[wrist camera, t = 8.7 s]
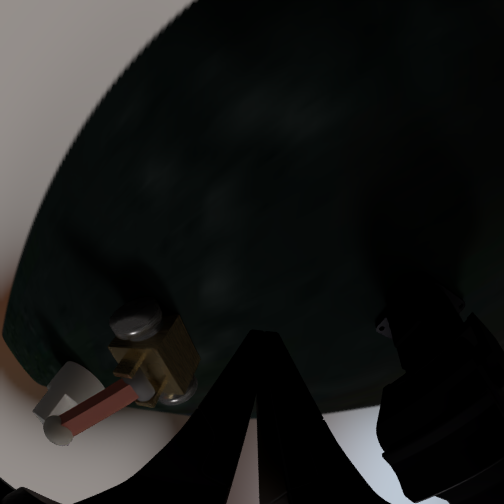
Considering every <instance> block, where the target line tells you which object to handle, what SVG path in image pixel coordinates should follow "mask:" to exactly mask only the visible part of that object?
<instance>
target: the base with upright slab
mask: <svg viewBox="0 0 504 504" xmlns="http://www.w3.org/2000/svg"><path fill="white" fill-rule="evenodd" d="M47 388H48V391H47V393H46V394H45V395H44V397H43V398H42V399H41V401H40V402H39V403H38V404H37V406H36V407H35V409H34V410H33V413H34V414H35V415H36V416H37V418H38V419H39V420H40V421H41V422H42V424H43V425H44V422H45V420H46V419H47V418H48V417H49V416H52V415H58V416H59V415H61V414H63V413H64V412H66V411H68V410H70V409H71V408H73V407H75V406H77V405H78V404H80V403H82V402H83V401H85V400H87V399H88V398H90V397H92V396H94V395H95V394H97V393H99V392H100V391H102V390H104V389H105V388H104V386H103V385H102V383H101V382H100V381H99V380H98V379H97V378H96V377H95V376H94V375H93V374H92V373H91V372H89V371H88V370H87V369H85V368H84V367H83V366H81V365H79V364H78V363H75V362H72V361H68V362H66V363H65V365H64V366H63V367H62V368H61V369H60V371H59V372H58V373H57V374H56V375H55V377H54V378H53V379H52V380H51V382H50V383H49V384H48V386H47ZM68 445H69V444H67V446H68Z"/></svg>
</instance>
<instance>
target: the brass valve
mask: <svg viewBox="0 0 504 504" xmlns="http://www.w3.org/2000/svg"><path fill="white" fill-rule="evenodd" d="M109 324H110V326H111V328H112V330H113V332H114V333H115V335H116V337H115V338H114V339H113V341H112V342H111V343H110V344H109V346H108V348H109V350H110V351H111V353H112V355H113V356H114V358H115V359H116V361H117V362H118V365H117V367H116V368H115V369H114V371H113V374H114V375H115V376H117V377H124V378H130V379H132V378H133V376H134V375H135V373H136V371H137V370H138V368H139V367H140V368H141V370H142V371H143V373H144V374H145V376H146V377H147V379H148V380H149V382H150V383H151V385H152V386H153V388H154V389H155V394H154V396H153V397H152V398H151V399H150V400H148V401H139V400H138V399H136V401H135V403H136V404H137V405H140V406H145V407H151V408H154V407H155V405H156V403H157V401H158V400H159V401H160V402H161V403H163V404H166V405H177V404H181V403H183V402H185V401H187V400H188V399H189V398H191V397H192V396H193V394H194V393H195V391H196V389H197V386H198V382H197V379H196V377H195V375H194V373H195V371H196V368H197V366H198V364H199V362H200V360H201V359H200V357H199V355H198V353H197V351H196V349H195V347H194V345H193V343H192V341H191V339H190V337H189V335H188V332H187V330H186V328H185V326H184V324H183V322H182V319H181V317H180V315H179V314H178V315H162V311H161V309H160V307H159V305H158V303H157V301H156V299H154V298H151V297H143V298H138V299H135V300H132V301H130V302H128V303H126V304H124V305H123V306H121V307H120V308H118V309H117V310H116V311H115V312H114V313H113V314H112V316H111V317H110V320H109Z"/></svg>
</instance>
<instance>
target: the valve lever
mask: <svg viewBox="0 0 504 504" xmlns="http://www.w3.org/2000/svg"><path fill="white" fill-rule="evenodd" d="M121 378H122V379H120V380H118V381H117V382H115V383H113V384H112V385H110V386H109V387H107V388H105V389H104V390H102V391H100V392H99V393H97V394H95V395H94V396H92V397H90V398H88V399H87V400H85V401H83V402H82V403H80V404H78V405H77V406H75V407H73V408H71V409H70V410H68V411H66V412H64V413H63V414H61V415H59V416H58V415H52V416H49V417H48V418H47V419H46V420H45V422H44V425H43V429H44V432H45V435H46V437H47V438H48V439H49V440H50V441H51V442H52V443H54V444H56V445H60V446H65V445H67V444H69V443H70V442H71V441H72V439H73V437H74V436H75V435H77V434H79V433H81V432H83V431H84V430H86V429H88V428H90V427H91V426H93V425H95V424H96V423H98V422H100V421H101V420H103V419H105V418H107V417H108V416H110V415H112V414H113V413H115V412H117V411H118V410H120V409H122V408H123V407H125V406H126V405H128V404H130V403H131V402H133V401H134V400H136V399H138V400H139V401H148V400H150V399H151V398H152V397H153V396H154V394H155V389H154V388H153V386H152V385H151V383H150V382H149V380H148V379H147V377H146V376H145V374H144V373H143V371H142V370H141V368H140V367H139V368H138V370H137V371H136V373H135V375H134V376H133V378H132V379H130V378H124V377H121Z"/></svg>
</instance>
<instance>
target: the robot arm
mask: <svg viewBox="0 0 504 504" xmlns="http://www.w3.org/2000/svg"><path fill="white" fill-rule="evenodd" d="M422 277H424V279H423V280H421V278H422ZM460 304H461V305H460ZM459 305H460V306H459ZM464 307H465V302H464V301H463V299H461V298H460V297H459V296H457V295H456V294H455V293H453V292H452V291H451V290H449V289H448V288H447V287H445V286H444V285H442V284H441V283H440V282H438V281H437V280H435V279H434V278H433V277H431V276H430V275H428V274H427V273H425V272H420V273H419V274H418V275H417V276H416V277H415V279H414V280H413V281H412V282H411V284H410V285H409V286H408V287H407V289H406V290H405V291H404V292H403V293H402V294H401V295H400V296H399V298H398V299H397V300H396V301H395V302H394V304H393V305H392V306H391V307H390V308H389V309H388V311H387V312H386V314H385V315H384V316H383V317H382V318H381V319H380V320H379V322H378V323H377V324H376V330H377V332H379V333H381V334H383V335H385V336H387V337H389V338H391V339H393V342H394V345H395V347H396V348H397V351H398V355H399V358H400V362H401V366H402V368H403V369H404V370H405V371H406V373H405V374H404V375H403V376H401V377H400V378H399V379H397V380H396V381H394V382H393V383H392V384H388V385H387V386H385V387H384V388H383V394H382V400H381V405H380V410H379V415H378V421H377V427H376V434H377V437H378V441H379V443H380V446H381V447H382V449H383V451H384V453H382V457H383V458H384V459H385V460H386V461H387V462H388V463H389V464H390V466H391V467H392V469H393V470H394V472H395V473H396V475H397V477H398V480H399V482H400V485H401V488H402V490H403V493H404V495H405V496H406V497H407V498H408V499H409V500H411V501H412V502H414V503H418V502H420V501H423V500H426V499H428V498H431V497H433V496H436V497H439V498H441V499H444V500H447V501H448V502H449V504H504V351H503V350H502V348H501V346H500V345H499V343H498V341H497V340H496V338H495V337H494V336H493V335H492V334H491V332H490V331H489V330H488V329H487V328H486V327H485V325H484V324H483V323H482V322H481V321H480V320H479V319H478V318H477V316H476V315H475V314H474V313H473V312H472V313H471V314H470V315H469V316H468V317H467V320H466V321H465V322H463V321H462V319H461V317H460V315H459V313H460V312H461V311H462V310H463V308H464ZM381 326H383V327H382V328H380V327H381ZM255 397H256V410H257V441H258V470H259V499H260V500H259V501H260V504H391V503H389V502H387V501H385V500H384V499H383V498H381V497H380V496H379V495H377V494H376V493H375V492H374V491H373V490H372V488H371V487H370V486H369V485H368V483H367V482H366V481H365V479H364V478H363V477H362V476H361V474H360V473H359V472H358V470H357V469H356V468H355V466H354V465H353V464H352V463H351V461H350V460H349V458H348V457H347V456H346V454H345V453H344V451H343V450H342V448H341V447H340V446H339V444H338V443H337V441H336V439H335V438H334V436H333V434H332V432H331V431H330V429H329V427H328V425H327V423H326V422H325V420H323V416H322V414H321V412H320V411H319V409H318V407H317V405H316V403H315V401H314V399H313V398H312V396H311V394H310V392H309V390H308V388H307V386H306V384H305V383H304V381H303V379H302V377H301V375H300V373H299V371H298V369H297V368H296V366H295V364H294V362H293V360H292V358H291V356H290V354H289V352H288V350H287V349H286V347H285V345H284V343H283V341H282V339H281V337H280V335H279V334H278V333H277V332H270V331H266V332H265V333H264V332H263V331H261V330H250V331H249V333H248V334H247V336H246V338H245V339H244V341H243V342H242V344H241V345H240V347H239V348H238V350H237V351H236V353H235V354H234V355H233V357H232V358H231V360H230V361H229V363H228V364H227V366H226V367H225V369H224V370H223V372H222V373H221V375H220V376H219V377H218V379H217V380H216V382H215V383H214V385H213V386H212V388H211V389H210V390H209V392H208V393H207V395H206V396H205V398H204V399H203V400H202V402H201V403H200V405H199V406H198V409H196V410H195V411H194V413H193V414H192V415H191V417H190V418H189V419H188V421H187V422H186V424H185V425H184V426H183V427H182V428H181V430H180V431H179V432H178V433H177V434H176V435H175V436H174V437H173V438H172V439H171V441H170V442H169V443H168V444H167V445H166V446H165V447H164V448H163V449H162V450H161V451H159V452H158V454H156V455H155V456H154V457H153V458H152V459H151V460H150V461H149V462H148V463H147V464H146V465H145V466H144V467H143V468H141V470H139V471H138V472H137V473H136V474H134V476H132V477H130V478H129V479H128V480H126V481H125V482H123V483H121V484H119V485H117V486H115V487H113V488H110V489H108V490H106V491H104V492H102V493H99V494H97V495H94V496H92V497H90V498H87V499H84V500H82V501H79V502H76V503H74V504H226V503H227V499H228V496H229V493H230V489H231V486H232V482H233V479H234V475H235V472H236V469H237V465H238V461H239V458H240V454H241V451H242V446H243V443H244V440H245V436H246V432H247V428H248V425H249V421H250V417H251V413H252V409H253V405H254V401H255ZM0 504H60V503H58V502H56V501H53V500H51V499H49V498H46V497H44V496H42V495H40V494H38V493H36V492H34V491H32V490H30V489H27V488H25V487H20V488H18V489H17V490H16V489H14V488H13V487H12V486H10V485H9V484H8V483H7V482H5V481H4V480H3V479H2V478H0Z"/></svg>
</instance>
